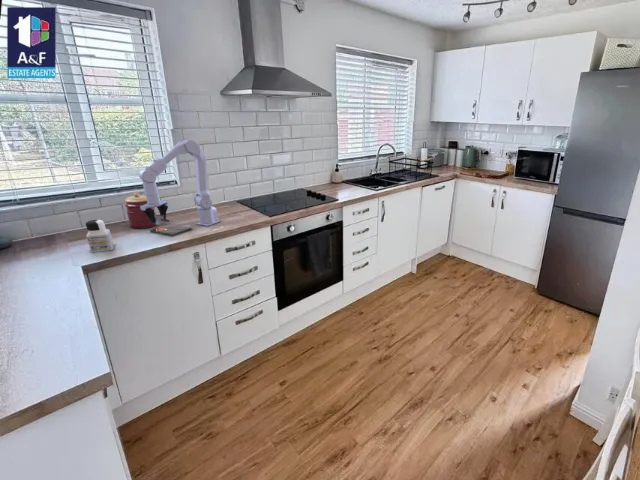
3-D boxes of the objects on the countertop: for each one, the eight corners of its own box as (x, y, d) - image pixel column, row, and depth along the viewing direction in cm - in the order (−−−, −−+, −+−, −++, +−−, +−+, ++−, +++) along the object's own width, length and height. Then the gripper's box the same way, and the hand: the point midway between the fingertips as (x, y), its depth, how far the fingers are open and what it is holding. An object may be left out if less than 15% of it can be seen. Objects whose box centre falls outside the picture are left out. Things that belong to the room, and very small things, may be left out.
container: (91, 252, 164) (81, 224, 158) (94, 246, 170) (84, 219, 164) (112, 250, 167) (103, 222, 161) (114, 244, 173) (105, 217, 167)
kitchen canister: (154, 228, 196) (145, 195, 188) (126, 229, 193) (116, 195, 185) (161, 221, 207) (153, 189, 199) (135, 222, 204) (126, 190, 196)
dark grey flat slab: (169, 225, 201) (169, 223, 200) (191, 229, 196) (191, 227, 196) (150, 232, 191) (150, 229, 190) (172, 236, 186) (172, 234, 186)
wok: (159, 221, 193) (158, 213, 191) (174, 224, 190) (173, 216, 189) (150, 224, 188) (148, 216, 187) (165, 227, 185) (163, 219, 184)
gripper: (158, 190, 191) (164, 216, 197) (132, 196, 178) (140, 223, 185) (169, 192, 189) (174, 218, 195) (143, 198, 176) (150, 225, 182)
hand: (158, 221), depth 190 cm, fingers closed on wok, 5 cm apart
